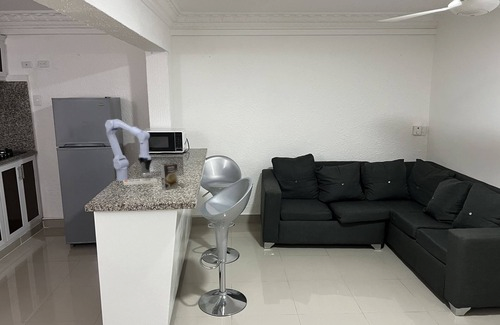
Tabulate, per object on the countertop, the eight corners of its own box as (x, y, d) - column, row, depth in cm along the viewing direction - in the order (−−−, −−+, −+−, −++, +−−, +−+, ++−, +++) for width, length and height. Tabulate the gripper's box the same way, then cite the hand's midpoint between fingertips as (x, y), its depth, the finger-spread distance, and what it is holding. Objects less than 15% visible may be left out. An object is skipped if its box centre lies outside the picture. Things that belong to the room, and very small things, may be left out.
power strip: (123, 183, 260) (122, 179, 260) (155, 181, 268) (155, 176, 268) (124, 186, 252) (123, 182, 251) (157, 183, 260) (157, 179, 259)
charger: (141, 171, 261) (141, 161, 260) (148, 171, 263) (148, 161, 262) (142, 173, 257) (141, 163, 256) (149, 172, 259) (149, 162, 257)
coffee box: (165, 190, 244) (164, 165, 241) (161, 188, 249) (160, 164, 246) (178, 187, 249) (177, 163, 246) (174, 186, 254) (173, 162, 251)
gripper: (134, 148, 260) (135, 167, 262) (143, 151, 249) (144, 171, 252) (143, 147, 265) (144, 166, 267) (153, 149, 254) (154, 169, 256)
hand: (145, 168), depth 260 cm, fingers closed on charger, 6 cm apart
